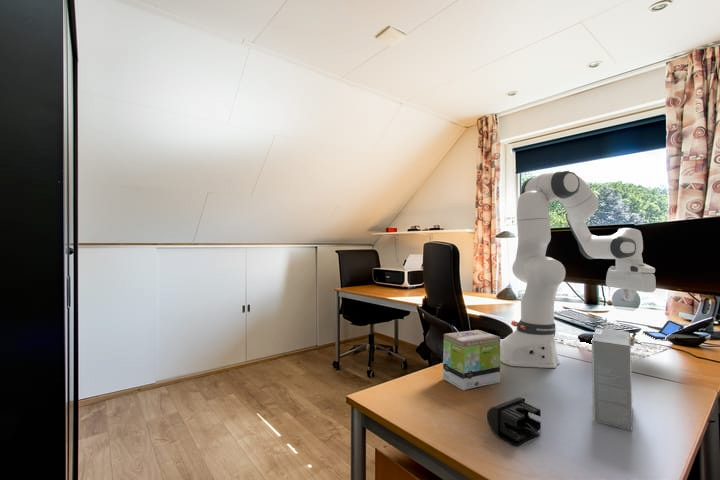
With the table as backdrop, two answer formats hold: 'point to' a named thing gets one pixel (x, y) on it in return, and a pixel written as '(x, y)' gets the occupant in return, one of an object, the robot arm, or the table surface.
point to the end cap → (514, 421)
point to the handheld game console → (665, 330)
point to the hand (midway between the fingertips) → (628, 300)
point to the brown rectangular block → (632, 341)
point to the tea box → (471, 359)
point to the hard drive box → (612, 378)
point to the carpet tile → (634, 351)
